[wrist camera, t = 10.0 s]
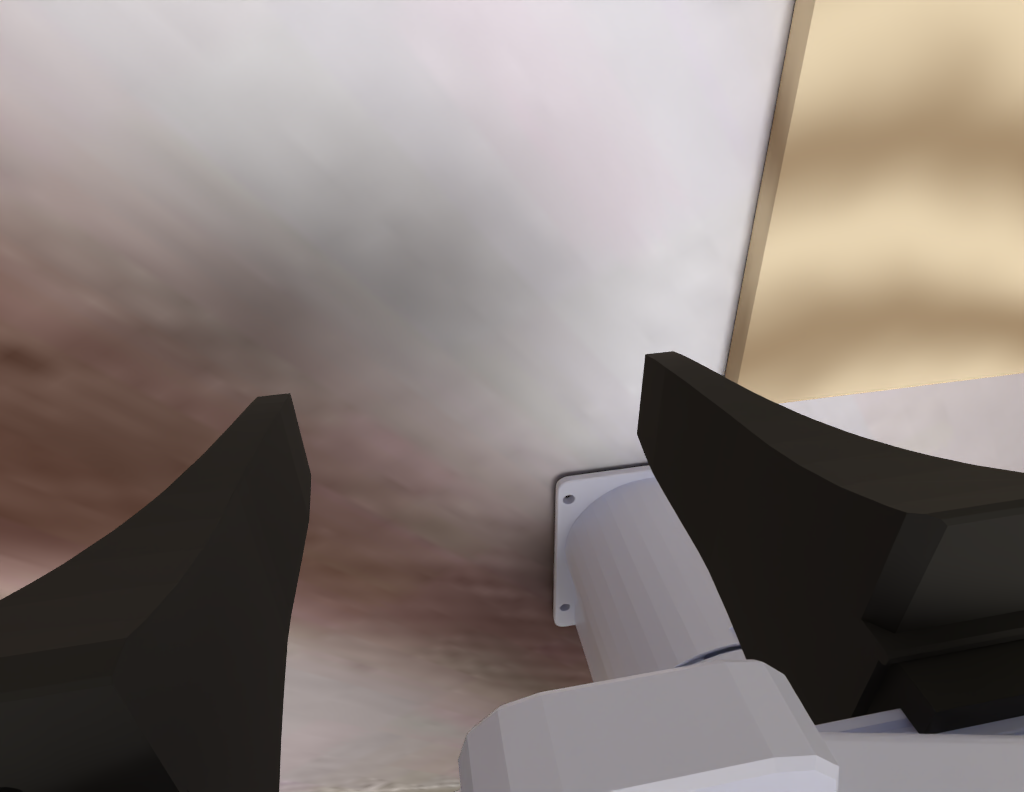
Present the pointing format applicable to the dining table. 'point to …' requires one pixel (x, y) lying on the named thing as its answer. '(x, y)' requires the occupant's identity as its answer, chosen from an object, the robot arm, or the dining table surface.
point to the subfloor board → (889, 203)
